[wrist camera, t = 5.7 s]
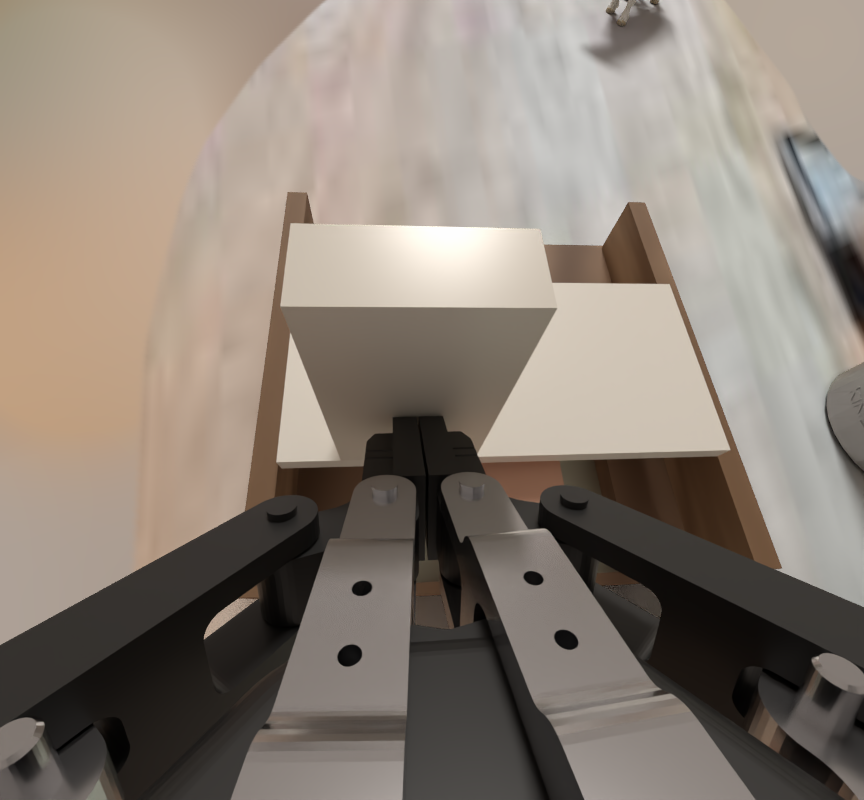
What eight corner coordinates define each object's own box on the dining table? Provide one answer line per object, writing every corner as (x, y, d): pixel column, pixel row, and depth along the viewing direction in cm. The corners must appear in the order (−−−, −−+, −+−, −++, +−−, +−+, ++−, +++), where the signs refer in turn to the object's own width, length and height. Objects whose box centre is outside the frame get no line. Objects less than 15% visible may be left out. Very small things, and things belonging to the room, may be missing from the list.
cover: (660, 294, 21) (848, 76, 12) (717, 456, 18) (1039, 310, 9) (299, 291, 20) (220, 38, 11) (281, 468, 16) (141, 305, 7)
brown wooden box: (596, 277, 30) (643, 200, 24) (680, 581, 22) (784, 573, 16) (310, 274, 28) (288, 189, 23) (280, 603, 20) (232, 604, 14)
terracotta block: (524, 458, 22) (553, 426, 18) (537, 548, 20) (573, 536, 16) (439, 460, 22) (449, 428, 18) (444, 553, 20) (457, 541, 16)
